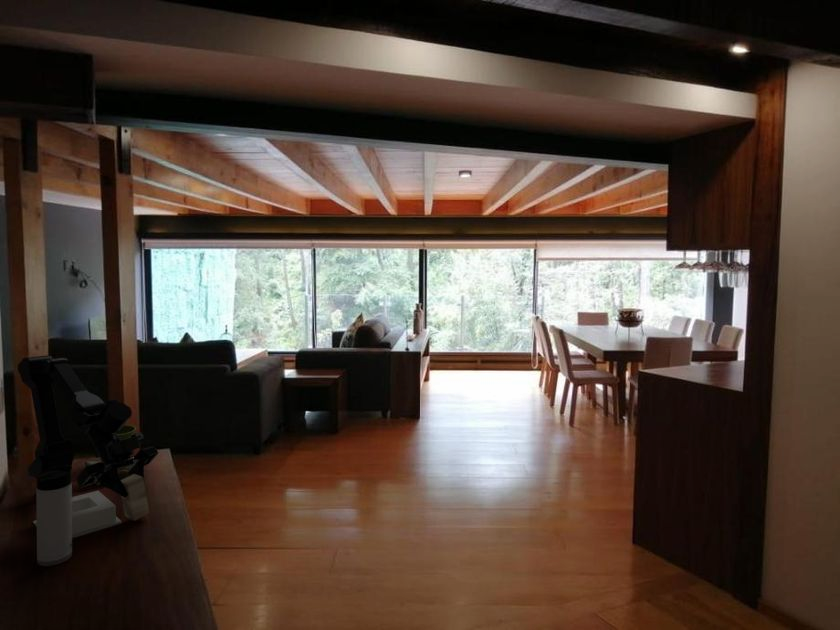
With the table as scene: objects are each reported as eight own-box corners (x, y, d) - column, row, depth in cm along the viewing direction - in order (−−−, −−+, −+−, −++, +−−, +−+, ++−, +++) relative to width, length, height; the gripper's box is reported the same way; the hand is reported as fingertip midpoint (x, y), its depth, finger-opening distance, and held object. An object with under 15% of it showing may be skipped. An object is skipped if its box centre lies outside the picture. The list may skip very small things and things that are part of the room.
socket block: (33, 523, 127) (33, 505, 126) (101, 504, 138) (101, 488, 138) (50, 545, 117) (50, 526, 117) (121, 523, 128) (121, 505, 128)
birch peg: (125, 516, 130) (118, 481, 127) (140, 508, 133) (134, 473, 131) (134, 520, 128) (127, 484, 125) (149, 512, 131) (143, 477, 129)
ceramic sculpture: (80, 451, 153) (134, 444, 164) (78, 479, 154) (132, 470, 165) (90, 461, 146) (146, 453, 157) (88, 491, 146) (144, 480, 157)
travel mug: (80, 554, 114) (80, 467, 113) (50, 569, 108) (49, 477, 106) (60, 548, 116) (59, 462, 115) (30, 563, 110) (29, 472, 108)
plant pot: (98, 472, 160) (98, 437, 160) (91, 461, 169) (91, 428, 168) (140, 464, 168) (140, 431, 167) (131, 454, 177) (131, 422, 176)
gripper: (84, 434, 121) (114, 488, 117) (154, 416, 138) (182, 463, 134) (64, 460, 125) (92, 514, 121) (134, 440, 142) (161, 486, 138)
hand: (135, 493), depth 128 cm, fingers closed on birch peg, 4 cm apart
